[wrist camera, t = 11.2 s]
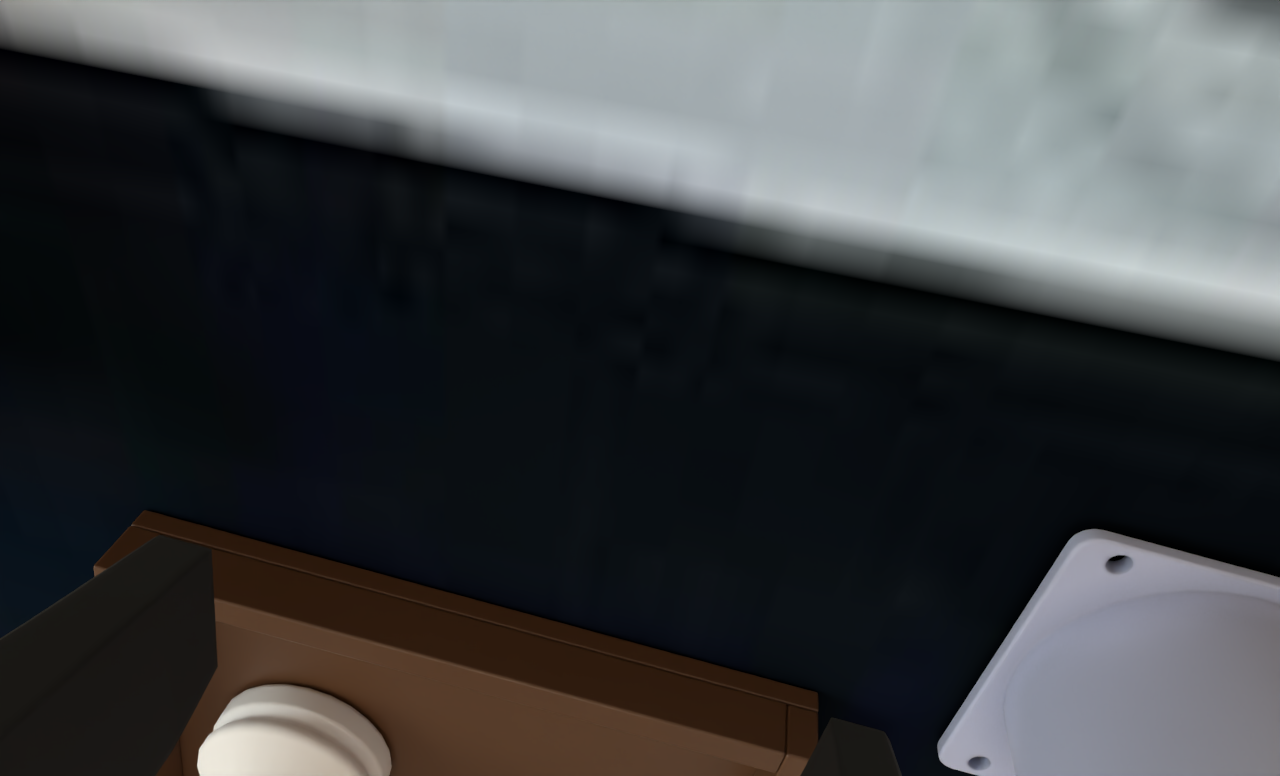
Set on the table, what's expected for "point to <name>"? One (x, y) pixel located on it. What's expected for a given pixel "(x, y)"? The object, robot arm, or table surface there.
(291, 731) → the chess pawn
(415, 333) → the table surface
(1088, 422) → the table surface
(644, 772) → the tray
